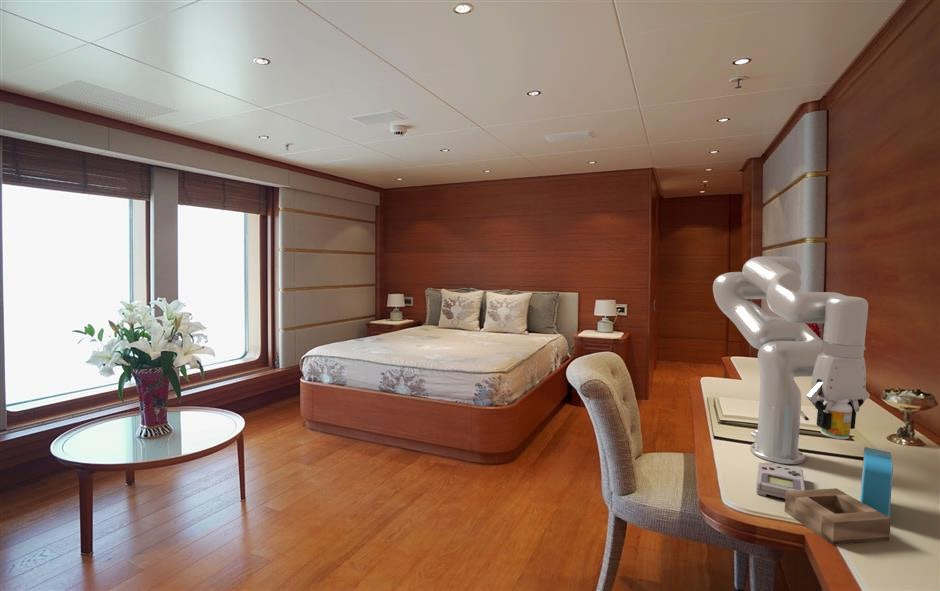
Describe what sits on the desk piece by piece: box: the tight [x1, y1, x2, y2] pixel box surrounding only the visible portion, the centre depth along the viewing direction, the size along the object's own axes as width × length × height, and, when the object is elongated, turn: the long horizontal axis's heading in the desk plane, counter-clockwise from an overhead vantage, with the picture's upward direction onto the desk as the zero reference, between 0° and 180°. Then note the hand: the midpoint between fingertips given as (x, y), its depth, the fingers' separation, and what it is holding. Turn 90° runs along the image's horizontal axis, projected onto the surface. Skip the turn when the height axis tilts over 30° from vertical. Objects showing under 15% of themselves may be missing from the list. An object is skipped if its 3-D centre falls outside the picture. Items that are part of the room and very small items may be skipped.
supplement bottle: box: [820, 399, 852, 440], centre depth 111 cm, size 5×5×10 cm
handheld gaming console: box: [755, 462, 806, 499], centre depth 114 cm, size 9×4×15 cm
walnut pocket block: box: [784, 488, 892, 546], centre depth 98 cm, size 12×12×4 cm
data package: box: [860, 446, 894, 518], centre depth 104 cm, size 12×4×12 cm, turn 141°
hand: (835, 426), depth 112 cm, fingers closed on supplement bottle, 5 cm apart
